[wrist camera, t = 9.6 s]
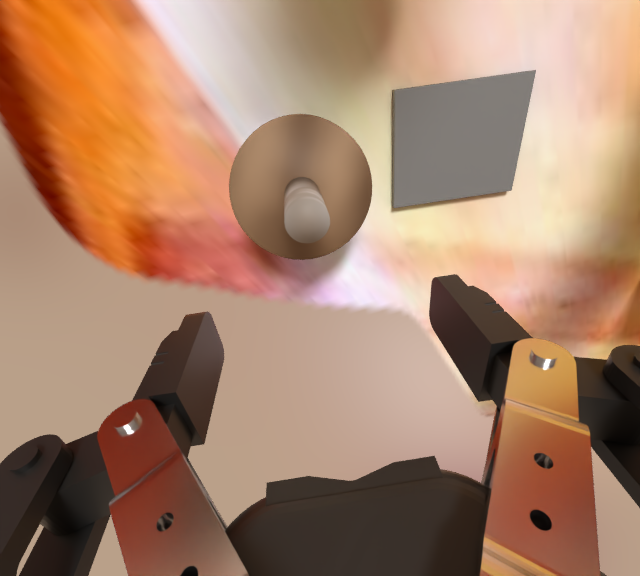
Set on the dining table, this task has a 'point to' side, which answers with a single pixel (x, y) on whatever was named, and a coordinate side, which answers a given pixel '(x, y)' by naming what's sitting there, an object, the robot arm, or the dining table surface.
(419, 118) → the mat
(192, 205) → the dining table surface
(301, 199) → the lid
